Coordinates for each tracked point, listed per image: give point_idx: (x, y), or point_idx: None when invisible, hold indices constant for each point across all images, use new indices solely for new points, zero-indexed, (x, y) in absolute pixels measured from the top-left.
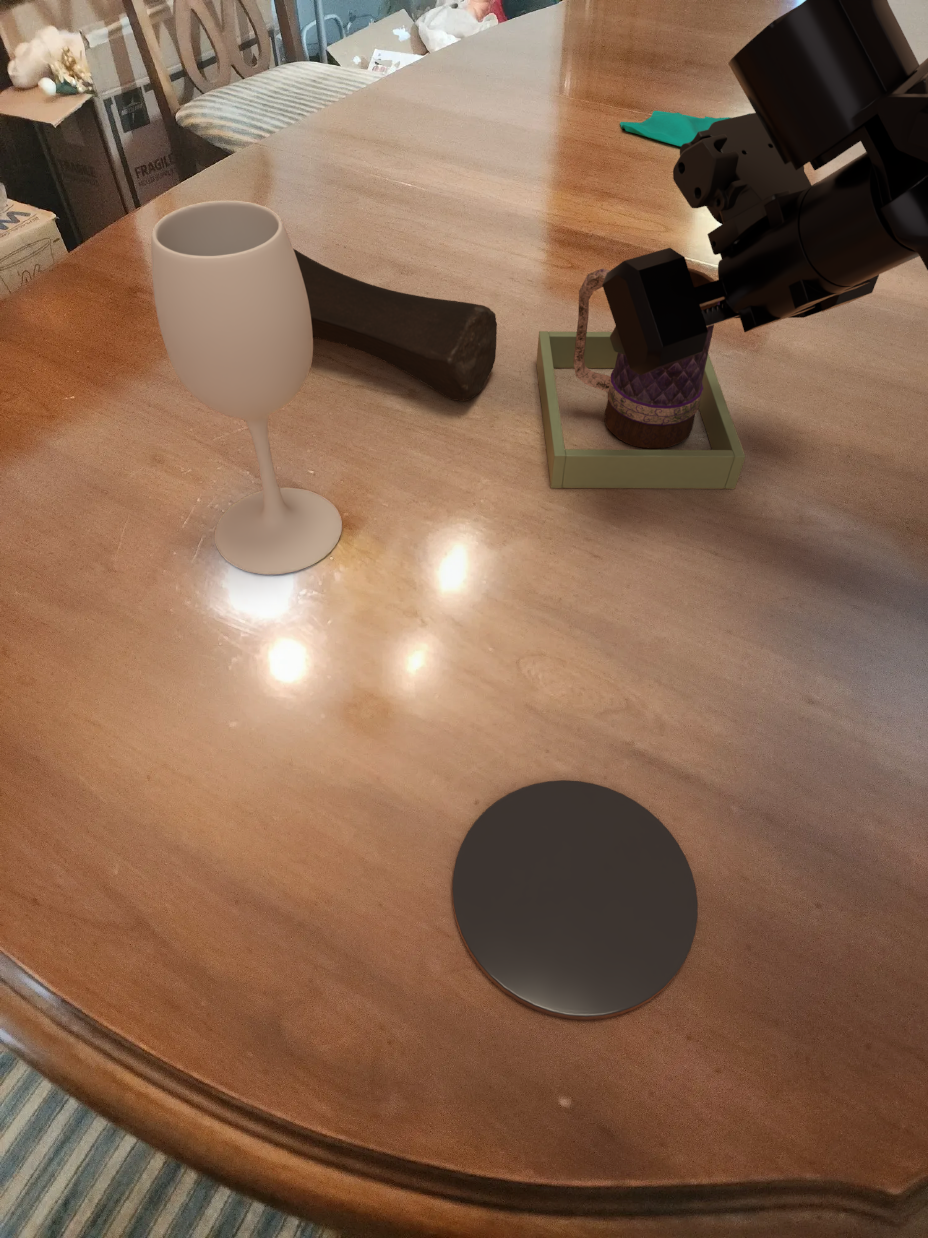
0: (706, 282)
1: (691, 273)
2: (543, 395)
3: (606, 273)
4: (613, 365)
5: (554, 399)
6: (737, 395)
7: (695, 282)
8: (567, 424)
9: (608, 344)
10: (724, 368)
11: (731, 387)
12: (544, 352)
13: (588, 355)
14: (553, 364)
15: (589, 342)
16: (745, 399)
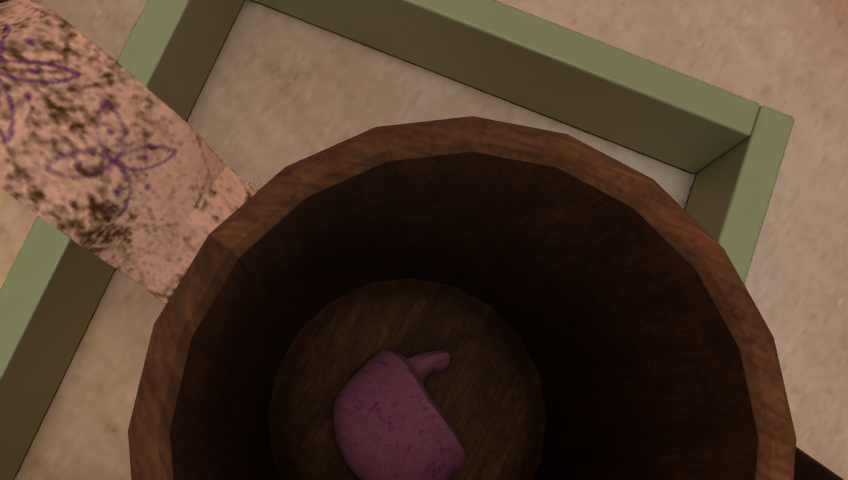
0: (742, 410)
1: (691, 270)
2: None
3: (10, 113)
4: (461, 77)
5: (14, 318)
6: (789, 375)
7: (695, 317)
8: (150, 311)
9: (441, 30)
10: (823, 219)
11: (792, 326)
12: (149, 19)
13: (374, 28)
14: (264, 1)
15: (372, 1)
16: (804, 405)
